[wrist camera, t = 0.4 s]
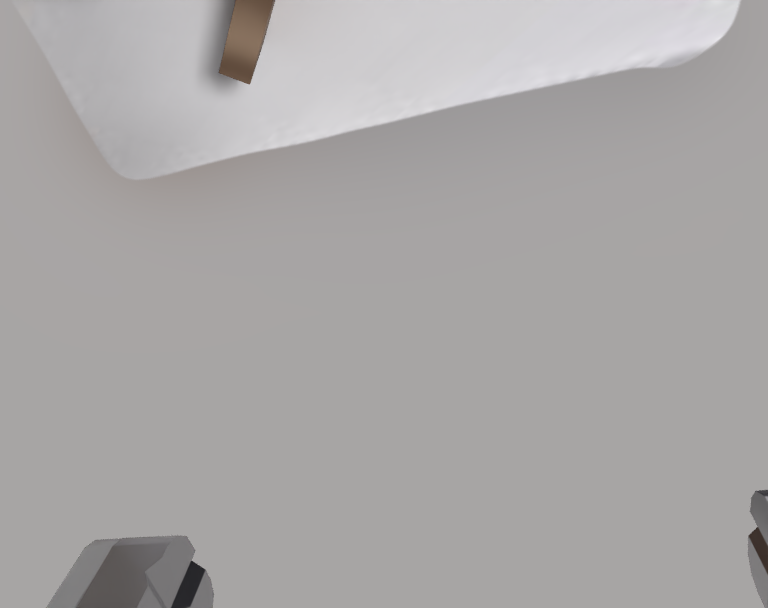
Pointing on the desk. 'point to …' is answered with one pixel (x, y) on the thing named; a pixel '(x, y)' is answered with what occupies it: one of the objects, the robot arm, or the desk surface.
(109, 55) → the desk surface
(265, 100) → the desk surface
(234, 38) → the walnut bookend
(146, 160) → the desk surface
